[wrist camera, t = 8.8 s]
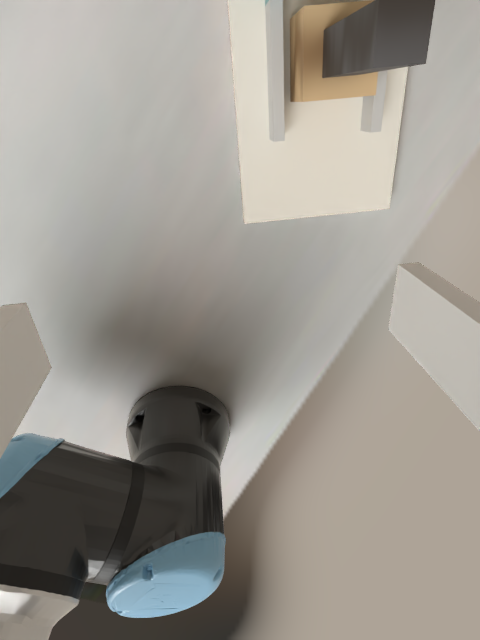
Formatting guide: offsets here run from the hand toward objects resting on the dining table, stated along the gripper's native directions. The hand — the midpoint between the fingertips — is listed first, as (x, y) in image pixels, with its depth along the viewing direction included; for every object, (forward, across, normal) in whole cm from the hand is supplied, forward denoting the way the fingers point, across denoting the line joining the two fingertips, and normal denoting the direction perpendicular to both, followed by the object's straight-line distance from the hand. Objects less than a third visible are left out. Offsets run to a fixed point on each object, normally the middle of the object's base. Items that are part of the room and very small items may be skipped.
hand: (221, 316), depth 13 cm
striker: (+27, -12, -10) cm, 31 cm away
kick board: (+29, -12, -10) cm, 33 cm away
